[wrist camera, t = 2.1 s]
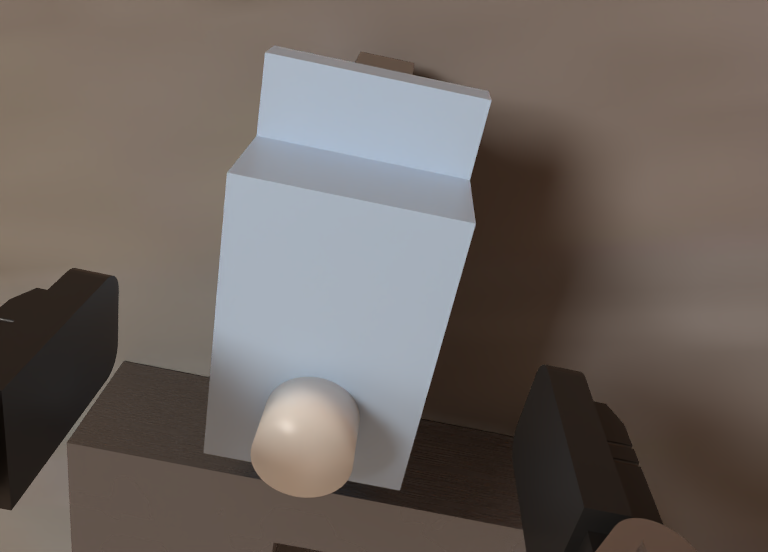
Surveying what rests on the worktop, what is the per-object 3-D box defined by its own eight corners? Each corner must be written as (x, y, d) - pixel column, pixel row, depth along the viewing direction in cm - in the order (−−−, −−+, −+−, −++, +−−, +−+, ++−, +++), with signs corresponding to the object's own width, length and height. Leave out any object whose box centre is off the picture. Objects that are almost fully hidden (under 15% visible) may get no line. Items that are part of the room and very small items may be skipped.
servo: (304, 20, 15) (211, 95, 9) (478, 57, 15) (510, 158, 9) (263, 344, 19) (180, 553, 13) (398, 371, 20) (381, 590, 13)
